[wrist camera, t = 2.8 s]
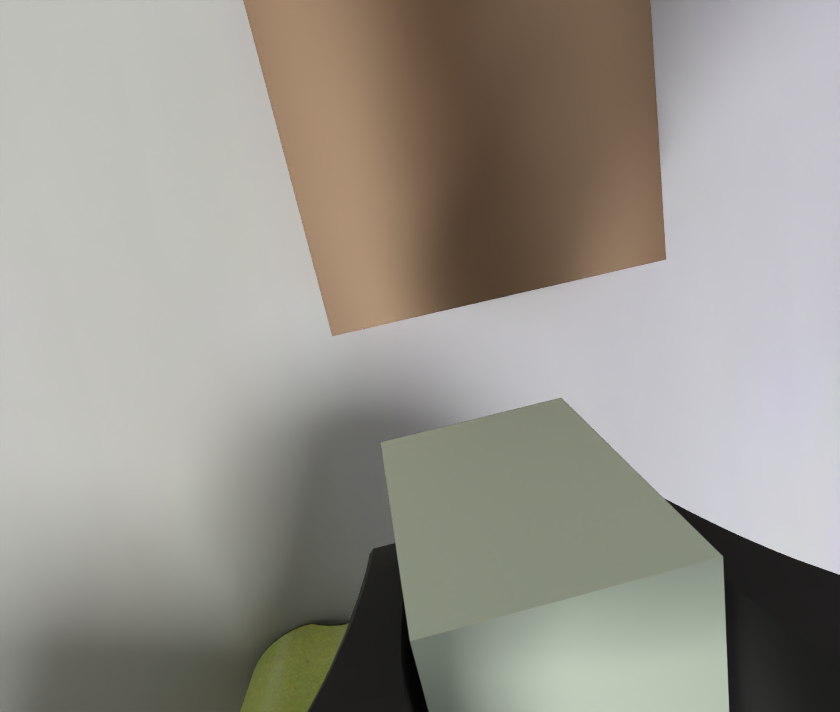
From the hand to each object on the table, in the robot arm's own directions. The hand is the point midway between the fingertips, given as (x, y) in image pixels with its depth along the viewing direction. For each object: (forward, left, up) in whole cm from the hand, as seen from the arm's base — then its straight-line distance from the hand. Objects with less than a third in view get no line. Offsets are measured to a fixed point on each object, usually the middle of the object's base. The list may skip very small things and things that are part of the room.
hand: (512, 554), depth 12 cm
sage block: (0, 0, -2) cm, 2 cm away
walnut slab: (-2, -9, -9) cm, 13 cm away
